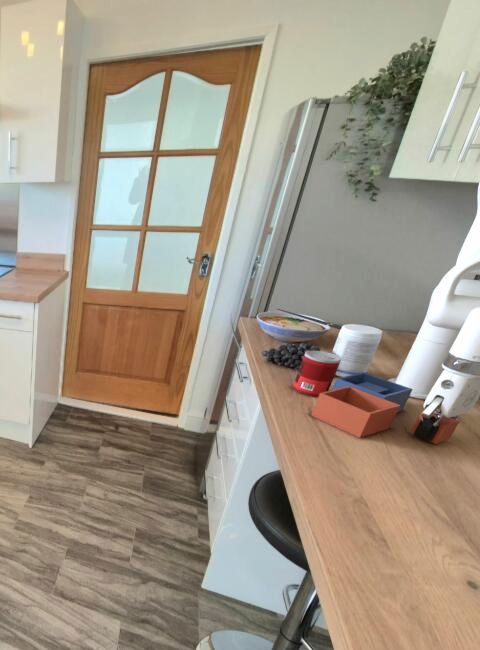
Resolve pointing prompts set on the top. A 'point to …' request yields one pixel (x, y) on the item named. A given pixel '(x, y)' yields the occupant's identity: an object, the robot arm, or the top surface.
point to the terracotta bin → (355, 411)
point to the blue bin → (395, 393)
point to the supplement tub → (356, 348)
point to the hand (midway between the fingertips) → (430, 434)
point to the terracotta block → (440, 428)
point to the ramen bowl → (293, 326)
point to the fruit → (289, 354)
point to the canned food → (316, 372)
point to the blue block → (374, 388)
